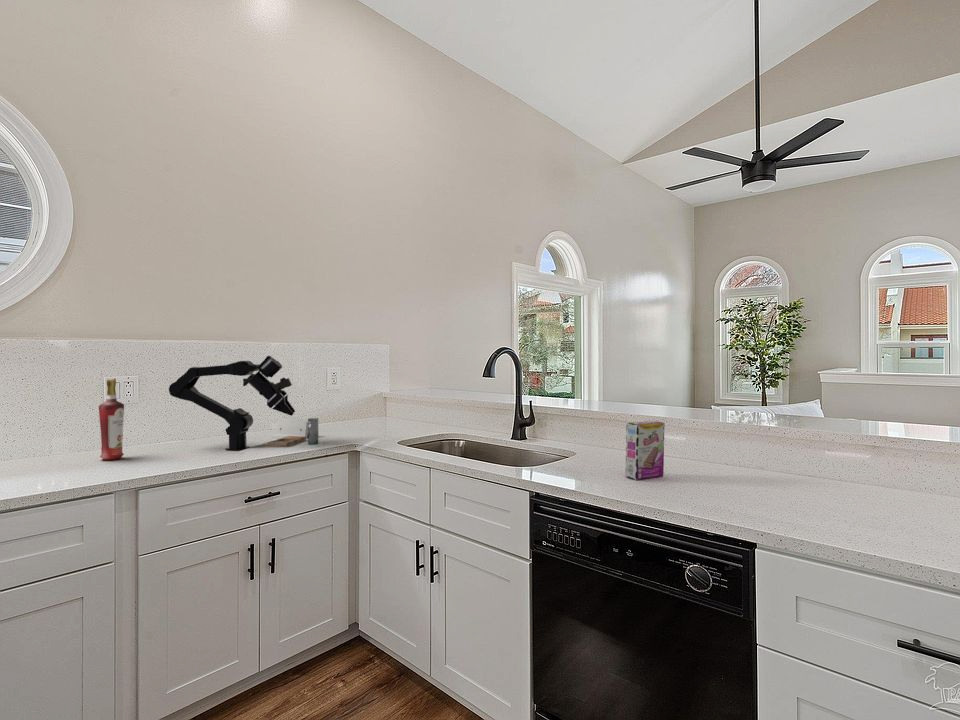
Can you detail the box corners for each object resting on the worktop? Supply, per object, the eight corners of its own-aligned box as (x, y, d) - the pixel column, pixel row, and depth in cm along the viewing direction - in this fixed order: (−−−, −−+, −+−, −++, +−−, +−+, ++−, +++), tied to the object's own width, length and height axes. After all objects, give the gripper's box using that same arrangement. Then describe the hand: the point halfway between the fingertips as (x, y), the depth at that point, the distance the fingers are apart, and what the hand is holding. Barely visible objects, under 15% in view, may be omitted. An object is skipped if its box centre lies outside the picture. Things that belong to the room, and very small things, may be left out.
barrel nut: (315, 444, 206) (315, 419, 206) (306, 444, 207) (305, 419, 207) (320, 443, 210) (320, 418, 210) (310, 442, 211) (310, 418, 211)
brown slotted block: (286, 449, 202) (286, 442, 202) (267, 449, 203) (266, 442, 203) (306, 442, 218) (306, 436, 218) (288, 442, 219) (288, 435, 219)
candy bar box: (637, 481, 152) (637, 424, 152) (625, 477, 156) (625, 422, 156) (665, 476, 157) (665, 422, 157) (652, 473, 161) (652, 420, 161)
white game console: (270, 439, 225) (275, 416, 228) (277, 441, 230) (282, 419, 233) (302, 441, 220) (307, 418, 223) (309, 443, 224) (314, 420, 227)
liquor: (112, 456, 188) (111, 378, 188) (129, 457, 187) (129, 378, 186) (93, 460, 181) (92, 379, 181) (112, 461, 180) (111, 379, 179)
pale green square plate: (318, 448, 204) (318, 445, 204) (298, 447, 205) (298, 445, 205) (327, 444, 212) (327, 442, 212) (308, 444, 213) (308, 442, 213)
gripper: (276, 371, 196) (307, 400, 199) (281, 370, 214) (309, 396, 217) (253, 393, 194) (285, 422, 197) (260, 389, 212) (289, 416, 215)
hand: (293, 413), depth 207 cm, fingers open, 9 cm apart
